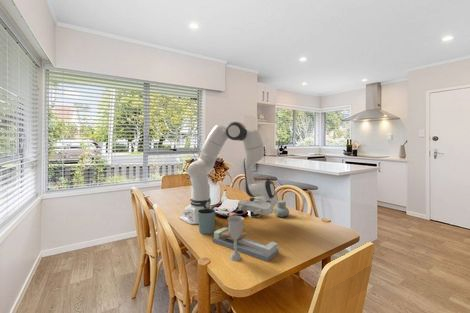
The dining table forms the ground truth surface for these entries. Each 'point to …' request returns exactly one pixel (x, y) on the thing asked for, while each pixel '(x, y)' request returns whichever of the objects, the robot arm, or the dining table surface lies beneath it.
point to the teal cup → (206, 220)
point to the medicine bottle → (251, 211)
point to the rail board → (248, 246)
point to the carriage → (227, 234)
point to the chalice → (235, 233)
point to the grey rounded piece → (281, 209)
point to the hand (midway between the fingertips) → (246, 210)
